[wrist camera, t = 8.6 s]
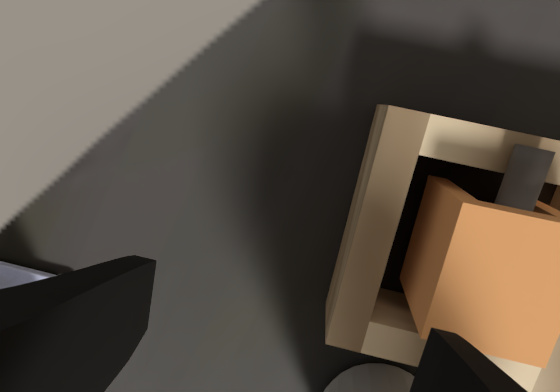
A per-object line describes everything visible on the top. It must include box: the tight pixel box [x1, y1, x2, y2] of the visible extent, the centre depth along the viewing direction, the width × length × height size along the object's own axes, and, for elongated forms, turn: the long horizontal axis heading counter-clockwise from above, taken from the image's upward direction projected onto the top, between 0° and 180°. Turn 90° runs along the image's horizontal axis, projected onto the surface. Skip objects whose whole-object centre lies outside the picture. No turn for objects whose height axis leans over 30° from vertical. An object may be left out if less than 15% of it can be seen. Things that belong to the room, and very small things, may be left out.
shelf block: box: [325, 104, 560, 392], centre depth 16 cm, size 10×10×5 cm
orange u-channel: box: [399, 175, 560, 369], centre depth 15 cm, size 4×5×5 cm
